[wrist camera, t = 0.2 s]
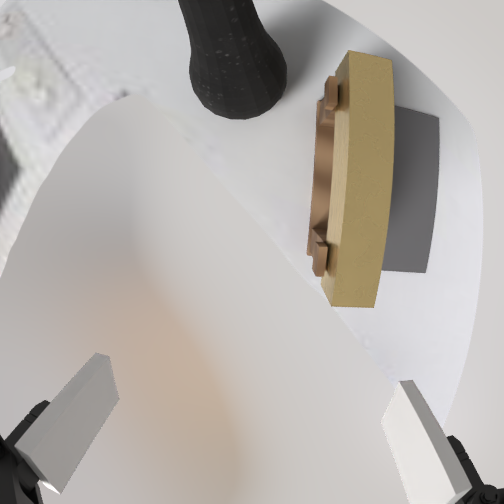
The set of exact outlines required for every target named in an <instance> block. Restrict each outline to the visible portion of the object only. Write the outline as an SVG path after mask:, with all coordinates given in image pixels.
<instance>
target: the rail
mask: <svg viewBox="0 0 504 504" xmlns="http://www.w3.org/2000/svg"><path fill="white" fill-rule="evenodd" d="M335 77H338V104H337V105H336V106H335V130H334V153H333V170H332V184H331V197H330V209H329V219H328V229H327V239H326V246H327V247H328V250H327V258H326V266H325V274H324V277H322V279H321V286H322V288H323V290H324V292H325V294H326V297H327V299H328V301H329V303H330V305H331V306H336V307H365V308H374V304H375V300H376V295H377V290H378V285H379V280H380V274H381V269H382V263H383V257H384V251H385V244H386V237H387V229H388V221H389V213H390V203H391V192H392V179H393V162H394V85H393V69H392V60H389V59H385V58H381V57H377V56H373V55H369V54H365V53H360V52H355V51H350V50H348V52H347V54H346V55H345V57H344V58H343V60H342V62H341V63H340V65H339V67H338V68H337V70H336V72H335Z"/></svg>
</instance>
